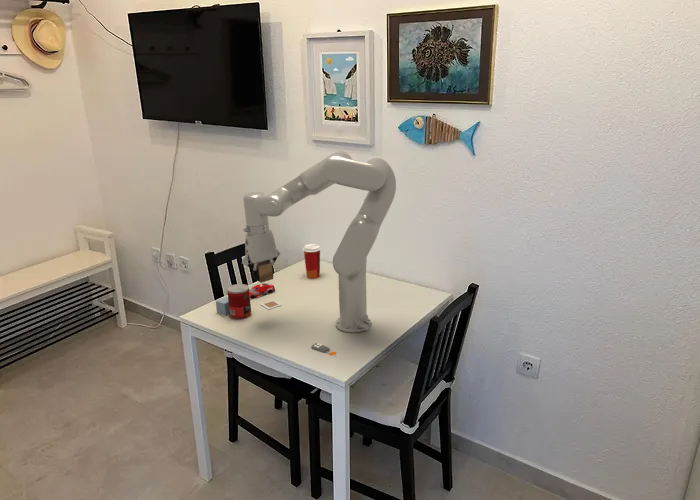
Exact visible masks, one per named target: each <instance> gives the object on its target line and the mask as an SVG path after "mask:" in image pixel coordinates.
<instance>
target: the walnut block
mask: <svg viewBox="0 0 700 500" xmlns="http://www.w3.org/2000/svg"><path fill="white" fill-rule="evenodd" d="M257 270H258V273H259V281H258V283H260V284H263V283H266V282H267V281H268V282H269V281H271V280H274V273H273V270H272V263H270V262H268V261H267V260H266V261H262V262H259V263H258V264H257Z"/></svg>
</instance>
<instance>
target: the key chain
mask: <svg viewBox="0 0 700 500" xmlns="http://www.w3.org/2000/svg"><path fill="white" fill-rule="evenodd" d="M310 349H312V350H315V351H317V352H320V353H322V354H323V353H325V354H326V353H327V354H329V356H333V357H335V358H338V355H337V351H331V349H330V348H329V347H328V346H326V345H324V344H323V343H320V342H319V343H318V342H317V343H316V342H315V343H313V344H312V345H311V347H310Z"/></svg>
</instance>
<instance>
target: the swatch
mask: <svg viewBox="0 0 700 500" xmlns="http://www.w3.org/2000/svg"><path fill="white" fill-rule="evenodd" d="M260 306H262V307H263V308H265V309H266V310H272V309H276V308H279V307H282V303H280V302H279V301H276V300H275V299H272V300H270V301H267V302H263V303H261V304H260Z"/></svg>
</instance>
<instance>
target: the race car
mask: <svg viewBox="0 0 700 500" xmlns="http://www.w3.org/2000/svg"><path fill="white" fill-rule="evenodd" d="M275 291H276V287H275V286H274V284H273V283H270V282H269V283H266V282H262V283H260V284H259V283H258V284H256V285H253V286H252V287H251V288H249V292H250V300H254V299H255V298H259V297H262V296H263V297H264V296H267V295H270V293H271V294H272V293H275Z"/></svg>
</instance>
